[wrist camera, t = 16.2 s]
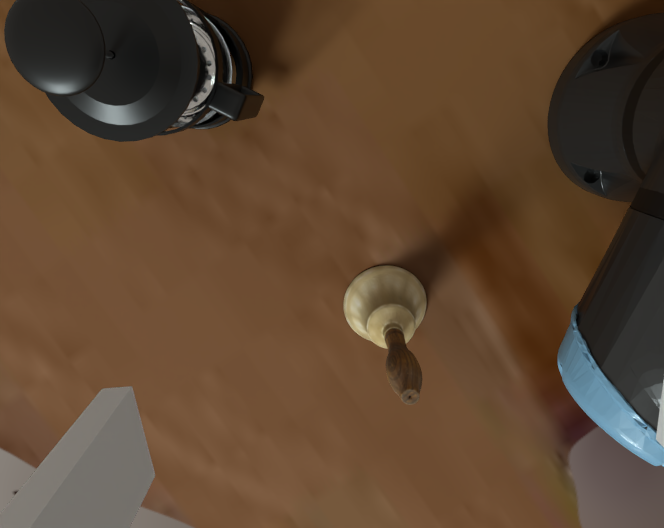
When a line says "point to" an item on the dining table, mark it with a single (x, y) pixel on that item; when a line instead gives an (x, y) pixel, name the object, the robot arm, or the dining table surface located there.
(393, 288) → the hand bell
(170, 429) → the dining table surface
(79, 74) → the french press
